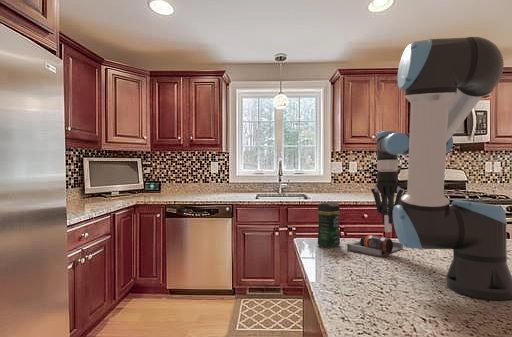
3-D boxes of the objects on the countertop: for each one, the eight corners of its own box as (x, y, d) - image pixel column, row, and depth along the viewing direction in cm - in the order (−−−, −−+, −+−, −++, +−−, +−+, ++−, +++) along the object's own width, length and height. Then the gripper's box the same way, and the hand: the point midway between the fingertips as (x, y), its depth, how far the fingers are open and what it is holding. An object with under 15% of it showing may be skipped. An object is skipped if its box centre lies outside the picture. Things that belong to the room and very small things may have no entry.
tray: (380, 257, 117) (380, 250, 117) (347, 250, 128) (347, 244, 128) (402, 248, 129) (402, 242, 129) (370, 243, 140) (370, 237, 140)
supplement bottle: (388, 235, 118) (361, 231, 127) (383, 249, 116) (356, 244, 125) (395, 242, 121) (368, 238, 130) (390, 257, 119) (363, 251, 128)
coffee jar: (331, 249, 129) (330, 203, 130) (314, 246, 135) (314, 202, 135) (343, 245, 136) (342, 201, 136) (327, 242, 142) (326, 200, 142)
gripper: (408, 170, 122) (409, 232, 122) (376, 171, 132) (377, 228, 132) (399, 171, 117) (400, 235, 117) (366, 171, 127) (367, 230, 127)
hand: (388, 231), depth 124 cm, fingers closed
